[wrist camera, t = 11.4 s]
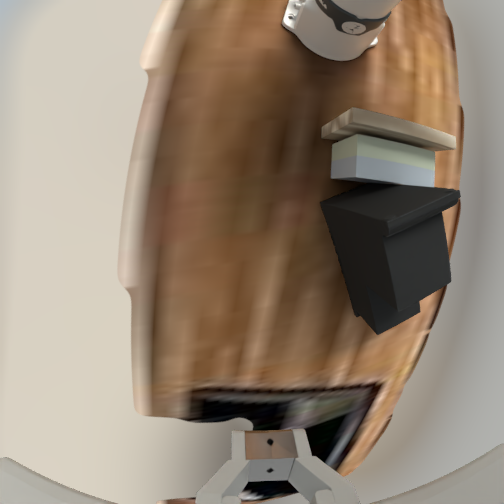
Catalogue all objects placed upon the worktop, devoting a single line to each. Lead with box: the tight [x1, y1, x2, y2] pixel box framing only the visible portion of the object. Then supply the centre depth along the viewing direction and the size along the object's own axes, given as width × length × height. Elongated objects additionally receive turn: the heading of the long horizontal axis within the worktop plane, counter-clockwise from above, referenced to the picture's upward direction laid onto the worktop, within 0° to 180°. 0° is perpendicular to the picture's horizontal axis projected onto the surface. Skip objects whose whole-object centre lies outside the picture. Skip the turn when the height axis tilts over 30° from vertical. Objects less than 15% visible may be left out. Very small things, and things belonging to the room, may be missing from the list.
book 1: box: [332, 134, 435, 171], centre depth 40 cm, size 3×14×11 cm, turn 87°
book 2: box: [331, 155, 435, 187], centre depth 41 cm, size 3×14×11 cm, turn 87°
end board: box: [321, 107, 456, 151], centre depth 38 cm, size 2×18×14 cm, turn 87°
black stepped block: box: [320, 183, 461, 335], centre depth 38 cm, size 23×11×24 cm, turn 22°
